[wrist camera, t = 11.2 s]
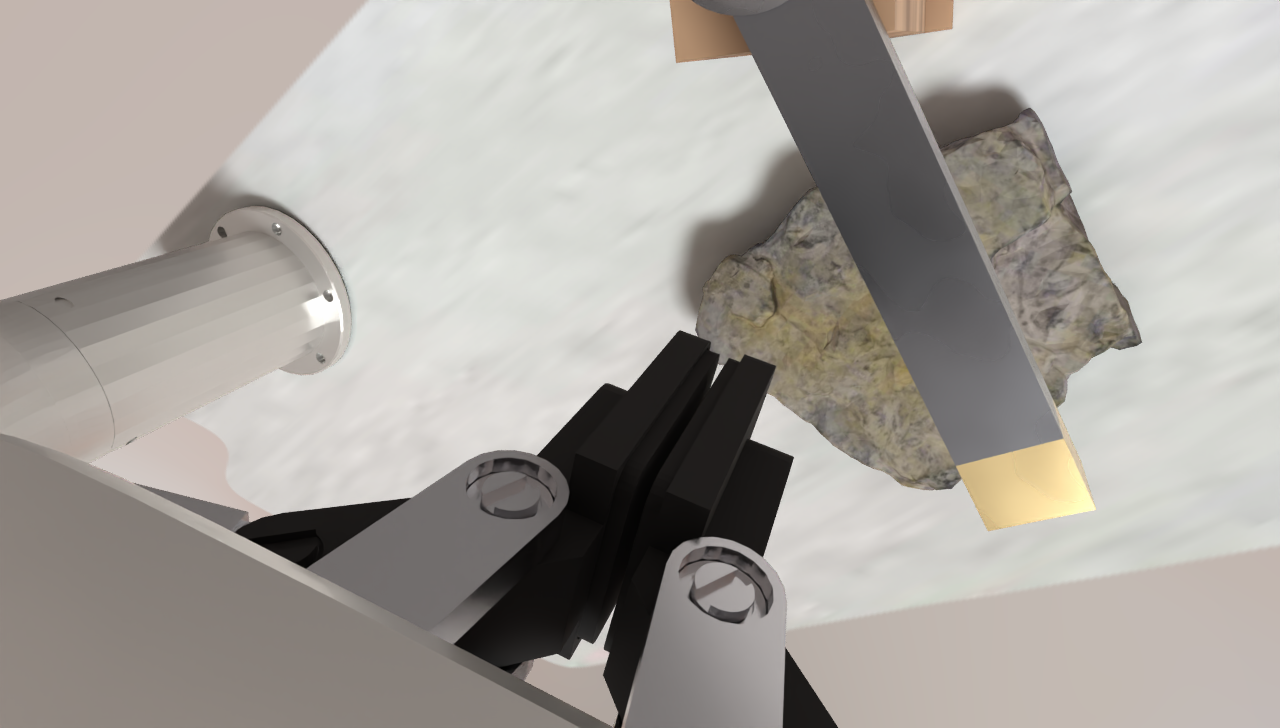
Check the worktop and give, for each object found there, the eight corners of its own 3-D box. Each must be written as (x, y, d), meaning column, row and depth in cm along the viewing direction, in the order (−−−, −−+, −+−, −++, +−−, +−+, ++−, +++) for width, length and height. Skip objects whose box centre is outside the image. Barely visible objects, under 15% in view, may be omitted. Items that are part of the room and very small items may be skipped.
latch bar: (658, -105, 12) (617, -125, 11) (812, -241, 10) (788, -287, 9) (954, 488, 14) (955, 540, 13) (1115, 450, 13) (1137, 504, 11)
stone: (981, 46, 28) (984, 47, 25) (1203, 329, 29) (1231, 361, 26) (684, 294, 38) (661, 315, 35) (856, 498, 39) (848, 535, 36)
